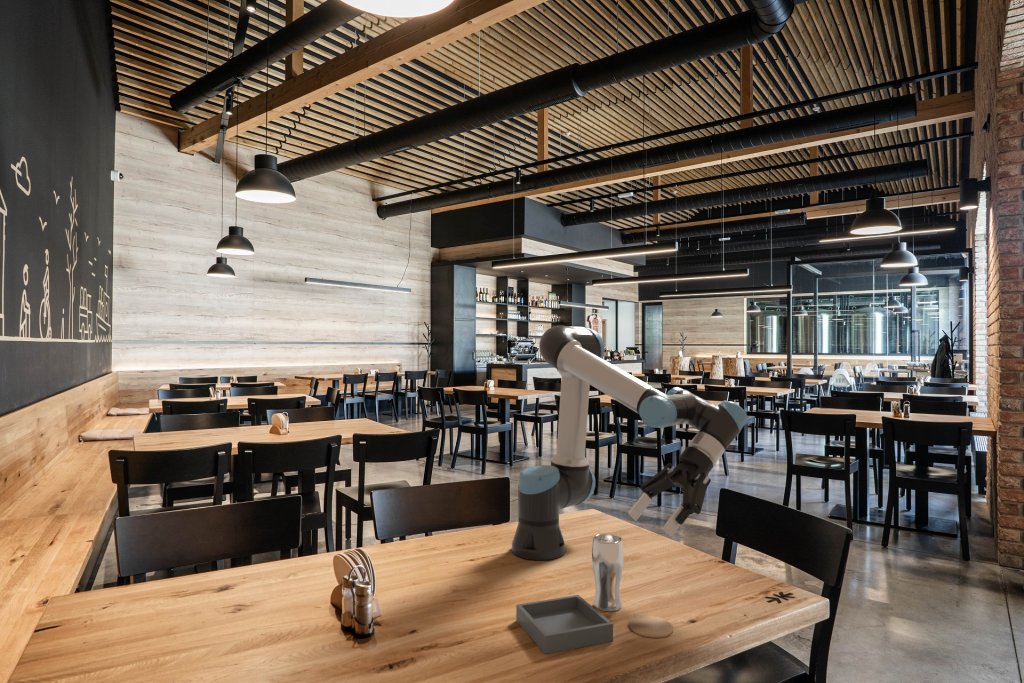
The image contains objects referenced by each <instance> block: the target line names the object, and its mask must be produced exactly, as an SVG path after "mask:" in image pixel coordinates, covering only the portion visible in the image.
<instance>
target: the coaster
mask: <svg viewBox="0 0 1024 683" xmlns="http://www.w3.org/2000/svg"><path fill="white" fill-rule="evenodd" d="M627 627H628V629H629V630H630V631H631V632H632V633H634V634H636V635H638V636H642V637H645V638H653V639H661V638H666V637H669V636H671V635H672V634H673V632H674V626H673V625H672V623H671V622H669V621H668V620H666V619H664V618H662V617H658V616H655V615H644V614H643V615H636V616H633V617H631V618H630V619H628V621H627Z"/></svg>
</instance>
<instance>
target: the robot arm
mask: <svg viewBox="0 0 1024 683" xmlns="http://www.w3.org/2000/svg"><path fill="white" fill-rule="evenodd" d="M538 348H539V349H538V350H539V352H540V356H541V357H542V360H544V361H545V362H546V363H547V364H548V365H549V366H551V367H552V368H555V369H556V370H557V372H558V373H559V375H560V376H561V381H560V382H561V383H560V394H559V396H560V398H559V411H558V425H557V439H556V440H557V442H556V454H555V455H554V456H553V457H552V458H551V459H550V465H546V464H544V465H542V464H540V465H533V466H528V467H526V468H524V469H523V470H522V471H521V472H520V473H519V475H518V484H517V489H518V490H517V491H518V492H517V493H518V496H517V497H518V498H517V500H518V502H517V503H518V505H517V508H518V518H517V519H518V520H517V526H516V529H515V532H514V536H513V540H512V542H511V552H512V554H513V553H514V554H513V555H514V556H516V555H517V557H519V558H521V557H522V559H525V560H533V561H548V560H554V559H558V558H560V557H562V556H564V555H565V553H566V543H565V540H564V536H563V533H562V530H561V527H560V510H562V509H565V508H570V507H574V506H578V505H581V504H583V503H584V502H586V501H588V500H589V499H590V498H591V497H592V496H593V495H594V491H595V488H596V477H595V474H593V470H592V468H590V461H589V460H588V458H586V444H587V428H588V416H589V415H588V414H589V401H590V400H589V398H590V388H591V387H590V386H592V387H594V388H595V389H597V390H598V391H599V392H602V393H603V394H605V395H607V396H608V397H610V398H611V399H613V400H615V401H617V402H618V403H620V404H622V405H623V406H625V407H627V408H628V409H629V410H631V411H633V412H635V413H637V414H638V415H639V417H640V418H641V420H642V422H643V423H644V424H645V425H646V426H648V427H650V428H656V429H657V428H659V429H663V428H667V427H674V426H677V425H684V424H686V425H688V426H690V427H691V428H694V429H696V430H698V432H697V433H696V434H695V435H694V437H693V438H692V439H691V440H690V442H689V443H688V446H686V448H685V449H684V450H683V451H682V452H681V453H680V455H679V456H678V462H679V463H678V464H677V465H676V466H674V465H673V464H672V463H671V462H669V463H667V464H666V465H665V466H664V467H663V468H662V469H661V470H659V472H657V473H656V474H655V475H653V476H652V477H651V478H649V479H648V480H646V481H645V482H644V483H642V484H641V485H640V486H639V489H640V490H641V491H642V493H641V494H640V496H639V497H638V498H637V500H636V501H635V503H634V504H633V505H632V507H631V508H630V510H629V511H628V512H627V515H629V516H630V517H631V518H632V519H633V520H634V521H635V522H637V521H638V519H640V517H641V515H642V514H643V513H644V512H645V510H646V509H647V507H649V505H650V503H652V501H653V497H655V496H657V495H659V494H661V493H663V492H665V491H667V490H668V489H671V488H676V487H678V488H682V489H683V490H682V491H683V492H682V503H680V505H678V506H677V508H676V509H675V510H674V512H673V513H672V514H671V516H670V517H669V519H668V520H667V521H666V523H665V524H664V525H663V526H662V528H661V530H662V531H663V532H665V534H666V535H667V536H668V537H670V538H672V537H673V536H674V534H676V532H677V531H678V529H680V528H679V527H681V526H682V525H683V524H684V523H685V521H686V520H687V519H688V517H689V516H690V515H693V514H695V515H699V514H701V512H702V508H703V504H704V501H705V497H706V492H707V490H708V487H709V485H710V483H711V482H712V479H711V478H710V477H709V476H708V475H709V473H710V472H711V471H712V470H713V469H714V465H716V464H717V463H718V461H719V460H720V458H721V457H722V456H723V454H724V453H725V452H727V449H728V447H729V446H730V445H731V444H732V443H733V442H734V440H735V439H736V437H737V436H738V435H739V434H740V433H741V430H742V429H743V428H744V426H745V425H746V423H747V421H748V416H747V412H746V411H745V410H744V409H743V408H742V406H740V405H739V404H738V403H736V402H733V401H731V400H730V401H728V400H722V401H721V402H720V403H719V404H717V405H716V404H714V403H712V402H710V401H708V400H706V399H704V398H702V397H699V396H698V395H696V394H694V393H692V392H691V391H689V390H687V389H683V388H681V387H678V386H676V387H675V386H674V387H672V388H671V389H670V390H668V392H667V393H665V392H662V391H661V390H659V389H657V388H656V387H654V386H652V385H650V384H648V383H646V382H645V381H643V380H641V379H640V378H638V377H636V376H634V375H632V374H630V373H628V372H627V371H625V370H624V369H621V368H620V367H618V366H616V365H615V364H612V363H611V362H609V361H607V360H605V359H603V358H604V355H605V343H604V340H603V338H602V337H601V335H600V334H599V332H597V331H596V330H595V329H592V328H590V327H585V326H568V325H567V326H566V325H554V326H551V327H549V328H548V329H546V330H545V331H544V333H543V334H542V335H541V337H540V340H539V343H538Z"/></svg>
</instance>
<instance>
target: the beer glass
mask: <svg viewBox="0 0 1024 683" xmlns="http://www.w3.org/2000/svg"><path fill="white" fill-rule="evenodd" d="M623 541H624V540H623V537H621V536H620V535H618V534H614V533H599V534H595V535H593V537H592V546H591V547H592V548H591V564H592V571H593V577H594V578H593V579H594V583H595V584H594V586H595V593H594V598H593V607H594V608H595V609H596V610H598V611H599V610H600V611H603V612H616V611H620V610H621V608H622V600H621V595H620V587H621V580H622V576H623V575H622V574H623V568H624V543H623Z"/></svg>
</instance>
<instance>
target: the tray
mask: <svg viewBox="0 0 1024 683" xmlns="http://www.w3.org/2000/svg"><path fill="white" fill-rule="evenodd" d="M515 609H516V610H515V611H516V613H515V614H516V615H515V621H516V622H517V623H518V624H519V626H520V627H521V628H522V629H523V631H525V633H526V634H527V635H528V636H529V637H530V638H531V639H532V641H533V642H534V643H535V644H536V645H537V647H538V648H539V649H540V650H541V651H542V653H544V655H548V654H547V653H549V654H553V653H558V652H564V651H568V650H573V649H579V648H584V647H589V646H595V645H599V644H604V643H609V642H613V641H614V623H613V622H612V621H610V619H608V618H607V617H606V616H605V615H603V614H602V613H601V612H600V611H599V610H598V609H597V608H596V607H595V606H593V605H591V603H589V602H588V601H586V599H584V598H583V597H582V596H580V595H579V594H575V595H568V596H564V597H563V596H562V597H555V598H549V599H543V600H538V601H537V600H536V601H530V602H525V603H519V604H516V606H515Z"/></svg>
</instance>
